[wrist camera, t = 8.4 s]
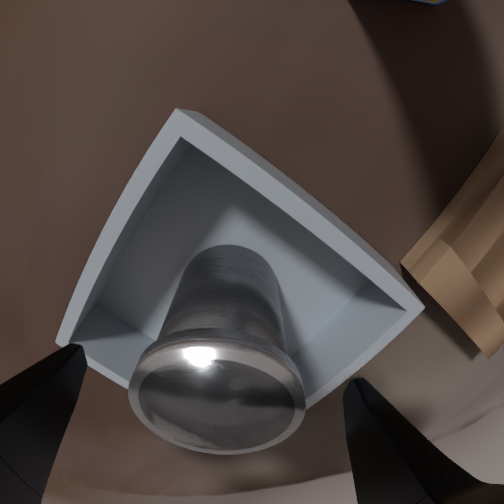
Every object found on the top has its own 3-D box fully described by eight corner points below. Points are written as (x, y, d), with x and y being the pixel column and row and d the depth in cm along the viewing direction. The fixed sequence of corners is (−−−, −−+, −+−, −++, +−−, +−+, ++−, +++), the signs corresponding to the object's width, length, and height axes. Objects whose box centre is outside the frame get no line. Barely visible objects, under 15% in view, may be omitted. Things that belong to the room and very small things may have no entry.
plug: (274, 336, 15) (285, 458, 9) (175, 325, 15) (139, 441, 9) (293, 244, 13) (327, 357, 7) (176, 231, 13) (116, 333, 7)
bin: (389, 263, 14) (425, 307, 11) (252, 393, 18) (251, 445, 14) (199, 112, 12) (176, 108, 8) (88, 297, 15) (55, 342, 12)
